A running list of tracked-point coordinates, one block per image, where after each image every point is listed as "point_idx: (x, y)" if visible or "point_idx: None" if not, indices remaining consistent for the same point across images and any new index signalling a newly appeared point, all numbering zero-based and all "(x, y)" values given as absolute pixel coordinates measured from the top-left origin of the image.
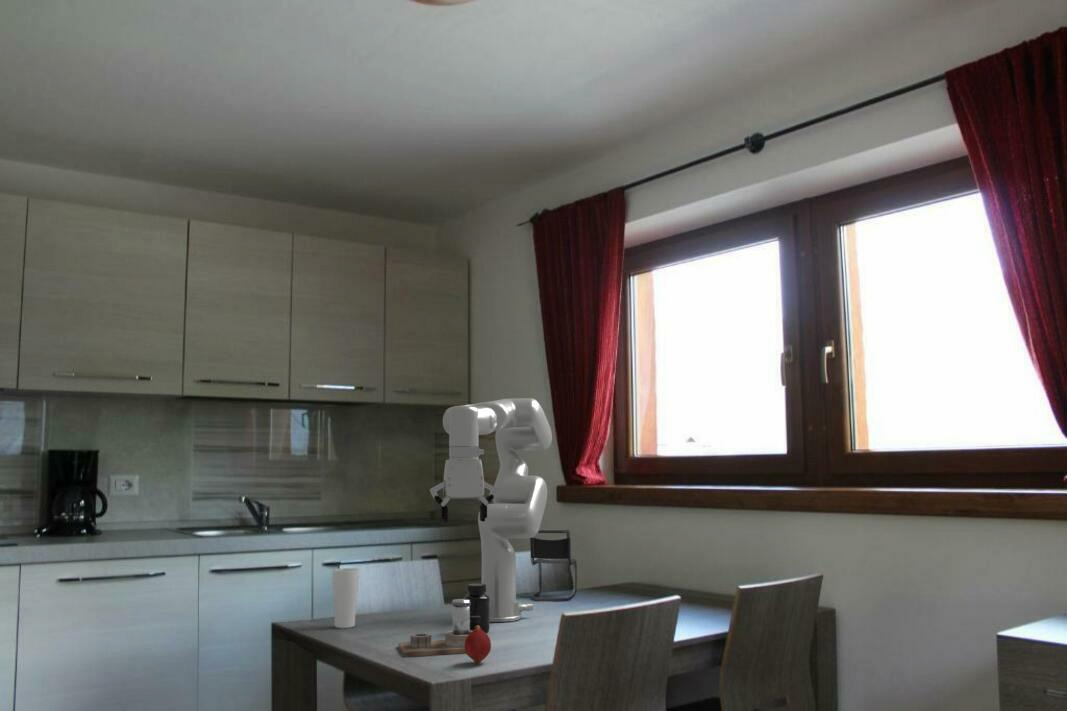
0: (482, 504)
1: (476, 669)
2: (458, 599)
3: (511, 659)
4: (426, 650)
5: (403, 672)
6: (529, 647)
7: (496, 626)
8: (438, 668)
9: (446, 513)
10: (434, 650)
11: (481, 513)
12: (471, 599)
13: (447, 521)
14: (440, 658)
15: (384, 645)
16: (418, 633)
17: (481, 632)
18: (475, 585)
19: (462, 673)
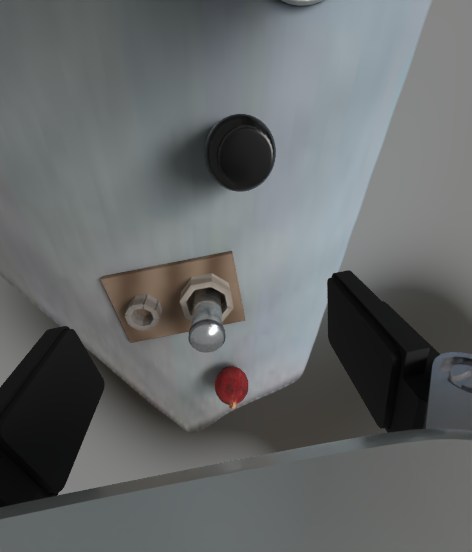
0: (401, 430)
1: None
2: (201, 332)
3: (271, 353)
4: (159, 333)
5: (149, 400)
6: (306, 293)
7: (282, 71)
8: (185, 387)
9: (76, 440)
10: (171, 334)
11: (350, 358)
12: (227, 188)
13: (103, 385)
14: (182, 346)
15: (74, 262)
16: (135, 305)
17: (237, 403)
18: (241, 178)
19: (213, 403)
